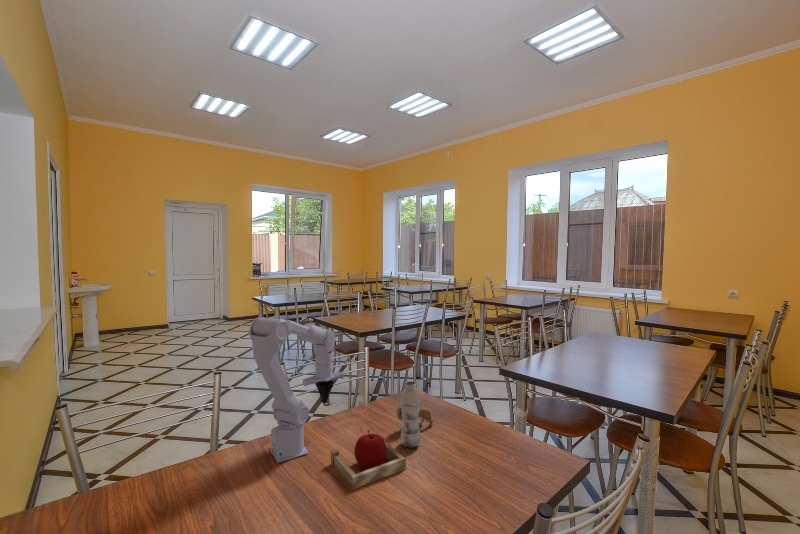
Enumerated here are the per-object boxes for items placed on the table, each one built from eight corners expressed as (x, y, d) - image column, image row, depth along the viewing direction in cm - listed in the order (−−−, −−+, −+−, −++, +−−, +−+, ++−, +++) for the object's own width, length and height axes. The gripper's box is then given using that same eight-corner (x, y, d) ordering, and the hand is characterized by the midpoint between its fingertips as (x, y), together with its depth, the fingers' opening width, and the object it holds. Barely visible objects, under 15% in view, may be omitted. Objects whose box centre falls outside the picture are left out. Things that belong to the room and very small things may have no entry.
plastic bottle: (421, 440, 124) (420, 380, 123) (420, 451, 117) (420, 387, 116) (401, 439, 124) (401, 379, 124) (399, 450, 118) (399, 386, 117)
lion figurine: (401, 436, 127) (401, 409, 126) (393, 429, 131) (393, 404, 131) (437, 426, 134) (437, 401, 134) (428, 420, 139) (428, 396, 138)
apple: (356, 476, 104) (356, 440, 104) (352, 458, 113) (352, 426, 112) (389, 471, 106) (389, 436, 106) (383, 454, 115) (382, 422, 115)
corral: (352, 489, 98) (352, 475, 98) (330, 463, 110) (330, 451, 110) (406, 468, 108) (406, 455, 107) (381, 447, 120) (381, 435, 119)
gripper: (307, 370, 123) (308, 411, 123) (347, 362, 131) (348, 401, 131) (300, 364, 129) (300, 403, 129) (339, 358, 137) (339, 395, 137)
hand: (324, 402), depth 131 cm, fingers closed
